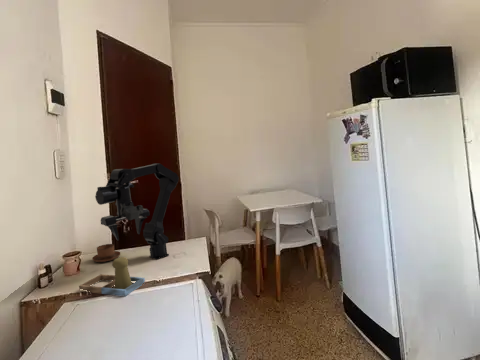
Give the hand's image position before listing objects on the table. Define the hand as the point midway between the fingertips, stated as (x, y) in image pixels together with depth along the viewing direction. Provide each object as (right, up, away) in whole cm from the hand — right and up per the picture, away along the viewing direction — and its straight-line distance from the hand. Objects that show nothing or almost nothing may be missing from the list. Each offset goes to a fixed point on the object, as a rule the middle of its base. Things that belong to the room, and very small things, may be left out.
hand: (128, 237), depth 139 cm
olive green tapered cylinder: (+5, -15, -19) cm, 24 cm away
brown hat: (-15, -13, +16) cm, 25 cm away
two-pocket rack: (0, -15, -17) cm, 23 cm away
